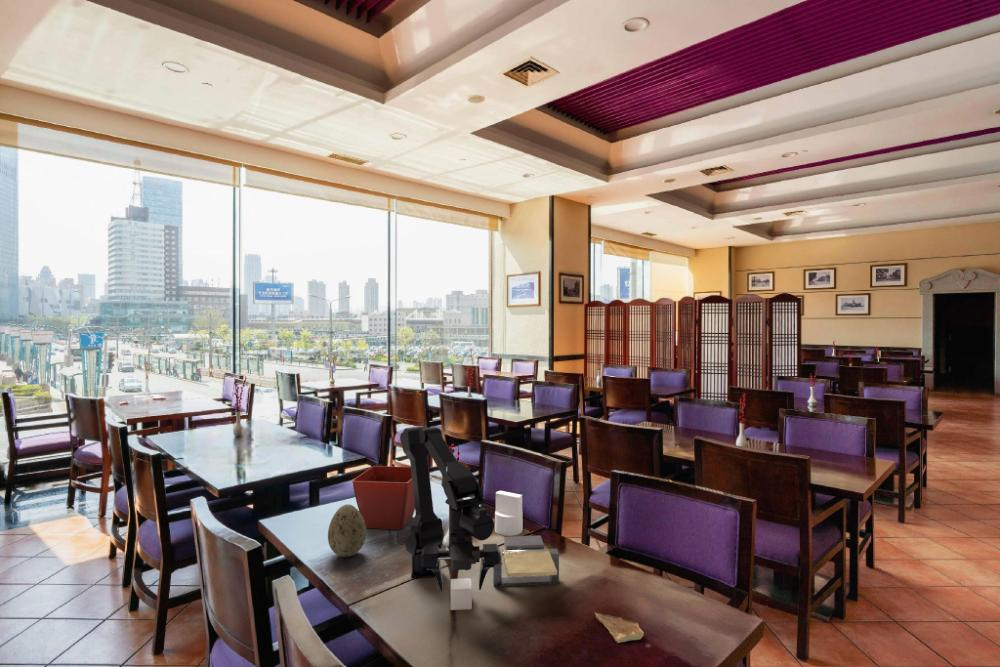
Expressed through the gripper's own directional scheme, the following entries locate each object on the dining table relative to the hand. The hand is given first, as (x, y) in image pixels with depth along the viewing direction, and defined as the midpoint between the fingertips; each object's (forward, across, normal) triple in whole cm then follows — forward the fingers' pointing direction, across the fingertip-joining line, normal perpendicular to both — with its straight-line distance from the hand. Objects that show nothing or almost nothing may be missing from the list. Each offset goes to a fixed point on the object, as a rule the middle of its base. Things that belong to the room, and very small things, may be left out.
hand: (460, 590), depth 126 cm
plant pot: (+4, -24, +54) cm, 59 cm away
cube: (+3, 0, 0) cm, 3 cm away
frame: (+3, +17, +9) cm, 19 cm away
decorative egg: (+4, -33, +29) cm, 44 cm away
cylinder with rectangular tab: (+4, +16, +44) cm, 47 cm away
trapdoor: (-3, +17, +6) cm, 18 cm away
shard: (+4, +34, -14) cm, 37 cm away
